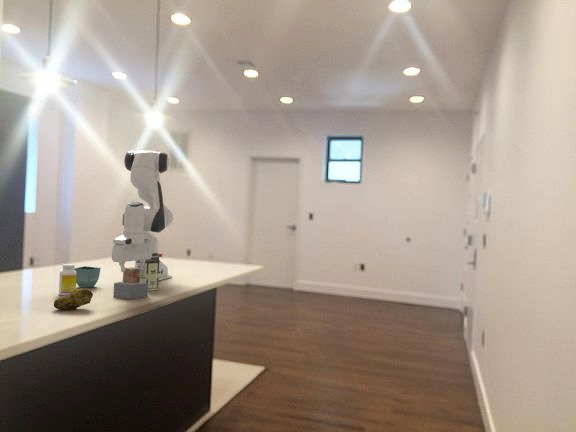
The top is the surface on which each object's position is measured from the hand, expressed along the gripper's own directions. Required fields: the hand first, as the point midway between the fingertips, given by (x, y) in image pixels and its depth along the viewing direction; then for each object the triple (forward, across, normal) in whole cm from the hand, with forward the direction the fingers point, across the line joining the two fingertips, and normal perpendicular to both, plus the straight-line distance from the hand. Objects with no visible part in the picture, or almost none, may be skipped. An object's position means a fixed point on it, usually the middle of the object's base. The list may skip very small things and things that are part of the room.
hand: (131, 270), depth 214 cm
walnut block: (+5, 0, 0) cm, 5 cm away
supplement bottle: (+12, +15, -22) cm, 29 cm away
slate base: (+11, 0, 0) cm, 11 cm away
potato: (+11, +32, +4) cm, 35 cm away
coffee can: (+12, -19, -9) cm, 24 cm away
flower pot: (+12, -3, -32) cm, 34 cm away
